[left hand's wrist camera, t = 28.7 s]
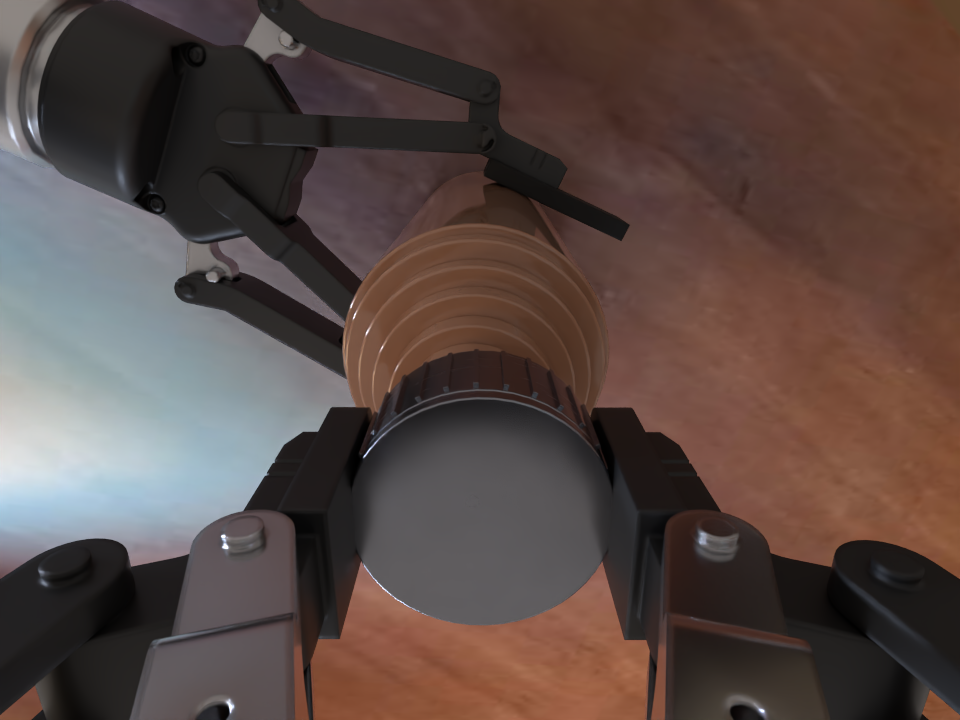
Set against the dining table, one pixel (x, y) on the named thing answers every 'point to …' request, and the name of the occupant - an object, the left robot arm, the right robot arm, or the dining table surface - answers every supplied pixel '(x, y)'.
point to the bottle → (475, 294)
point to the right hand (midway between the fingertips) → (576, 307)
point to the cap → (481, 490)
